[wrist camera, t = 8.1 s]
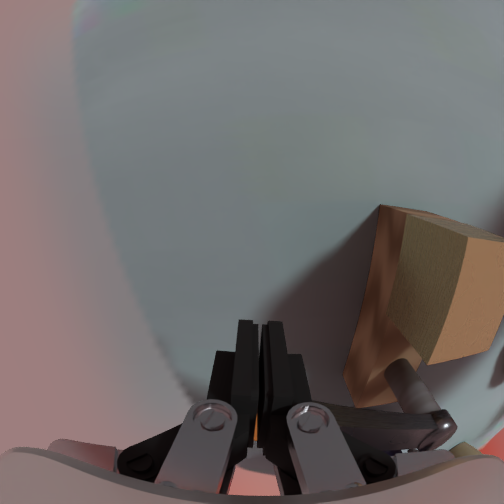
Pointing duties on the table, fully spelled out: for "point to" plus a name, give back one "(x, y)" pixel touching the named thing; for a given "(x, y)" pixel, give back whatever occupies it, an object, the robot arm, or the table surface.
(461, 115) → the table surface
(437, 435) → the lever
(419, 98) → the table surface
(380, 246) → the plane body
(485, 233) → the brushed brass block
